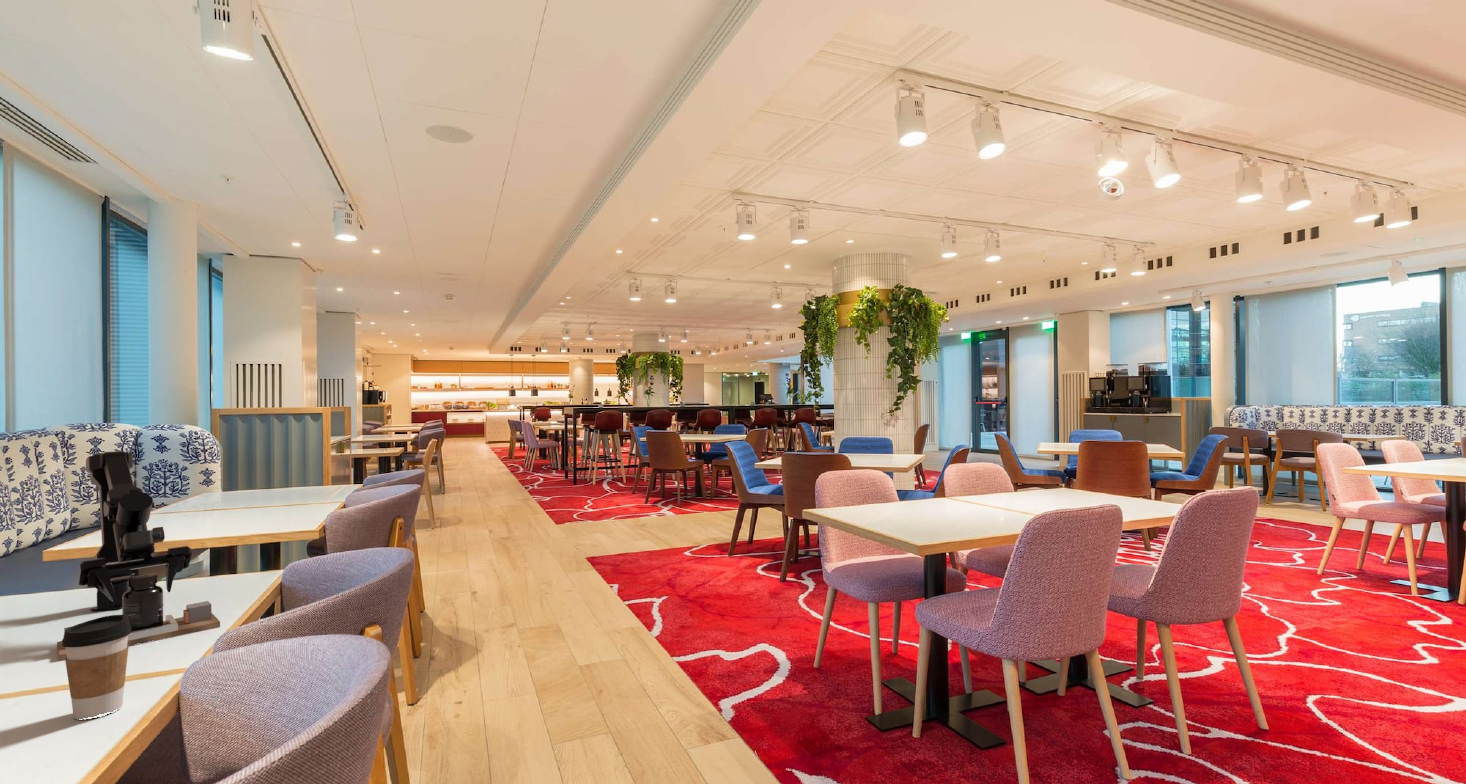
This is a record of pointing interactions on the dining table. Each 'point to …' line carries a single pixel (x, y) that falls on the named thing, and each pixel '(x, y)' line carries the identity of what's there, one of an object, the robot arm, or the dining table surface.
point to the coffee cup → (97, 664)
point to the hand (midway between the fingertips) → (142, 596)
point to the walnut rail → (170, 626)
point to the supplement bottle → (143, 602)
